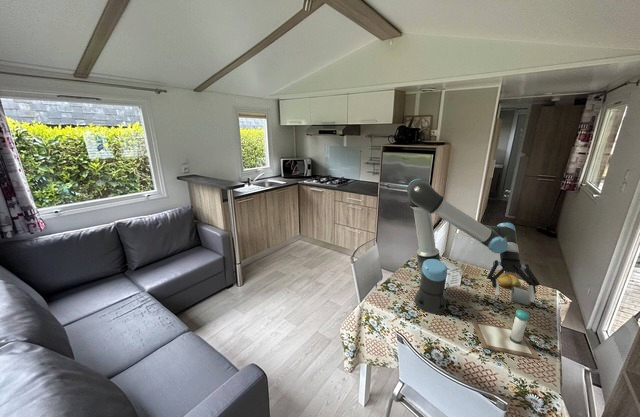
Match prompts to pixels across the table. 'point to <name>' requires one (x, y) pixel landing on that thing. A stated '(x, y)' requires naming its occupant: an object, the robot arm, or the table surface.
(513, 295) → the ceramic mug
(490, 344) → the writing pad
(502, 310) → the table surface
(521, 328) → the marker
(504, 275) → the bread roll
